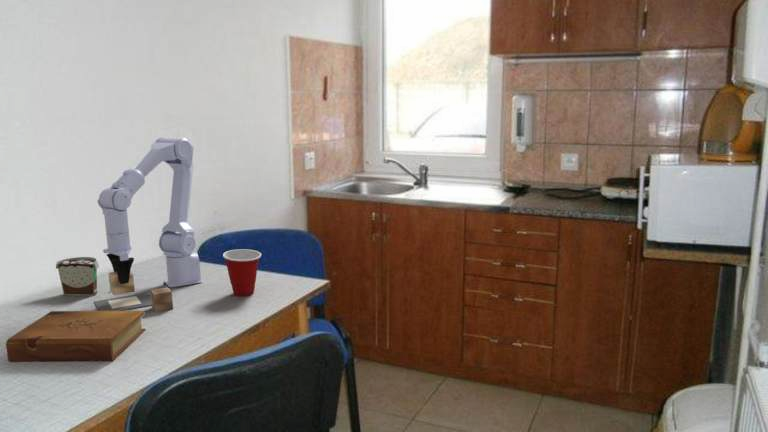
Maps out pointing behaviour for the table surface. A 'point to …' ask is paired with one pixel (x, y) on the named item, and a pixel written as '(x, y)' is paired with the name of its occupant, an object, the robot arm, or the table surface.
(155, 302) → the walnut block
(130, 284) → the oak block
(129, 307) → the gray rectangular panel
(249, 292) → the plastic cup
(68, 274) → the food container
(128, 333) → the diary
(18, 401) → the table surface
